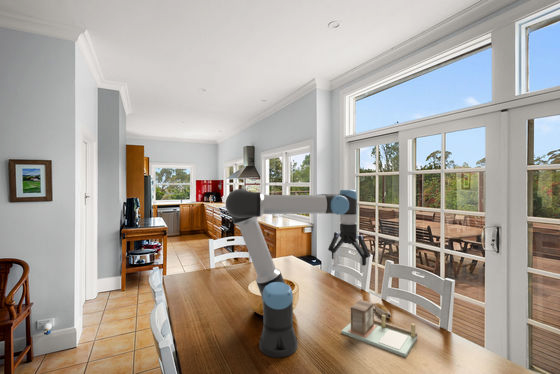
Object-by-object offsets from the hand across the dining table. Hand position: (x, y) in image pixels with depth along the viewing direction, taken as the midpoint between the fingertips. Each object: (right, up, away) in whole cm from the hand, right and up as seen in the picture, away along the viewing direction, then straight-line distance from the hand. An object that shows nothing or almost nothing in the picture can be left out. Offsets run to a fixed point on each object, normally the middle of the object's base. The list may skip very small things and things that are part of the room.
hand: (348, 269), depth 127 cm
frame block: (+4, -23, -8) cm, 25 cm away
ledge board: (+10, -25, -11) cm, 29 cm away
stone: (+19, -25, +8) cm, 32 cm away
